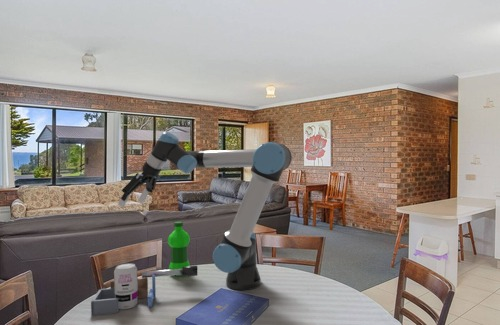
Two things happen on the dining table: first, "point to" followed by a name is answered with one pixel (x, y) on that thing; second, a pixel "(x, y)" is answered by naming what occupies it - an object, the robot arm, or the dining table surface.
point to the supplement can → (126, 285)
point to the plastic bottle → (178, 247)
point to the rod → (184, 271)
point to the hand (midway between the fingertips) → (130, 203)
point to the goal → (104, 302)
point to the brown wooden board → (141, 287)
